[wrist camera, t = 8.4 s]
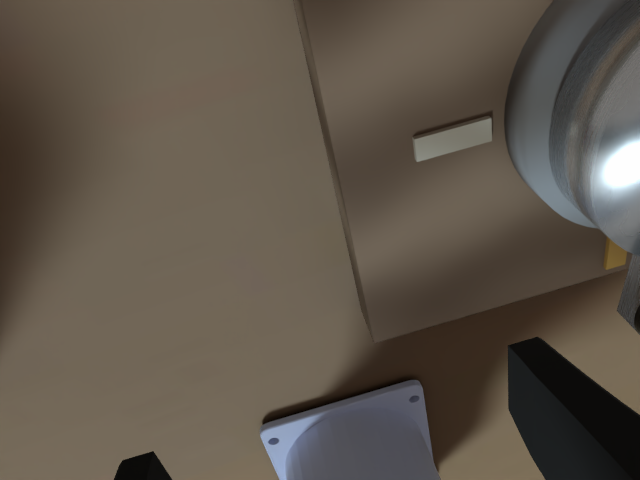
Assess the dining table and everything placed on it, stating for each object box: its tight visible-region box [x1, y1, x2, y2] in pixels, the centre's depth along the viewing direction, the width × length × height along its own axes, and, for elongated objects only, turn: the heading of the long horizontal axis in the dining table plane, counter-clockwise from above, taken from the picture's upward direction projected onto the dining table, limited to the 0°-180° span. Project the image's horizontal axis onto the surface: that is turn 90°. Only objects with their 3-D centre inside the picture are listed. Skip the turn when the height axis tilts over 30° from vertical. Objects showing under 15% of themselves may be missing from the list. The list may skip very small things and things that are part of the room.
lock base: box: [293, 0, 633, 343], centre depth 18 cm, size 16×20×4 cm
